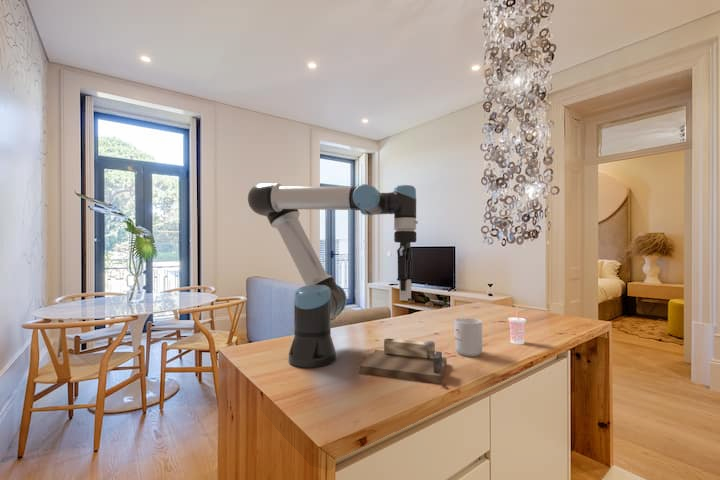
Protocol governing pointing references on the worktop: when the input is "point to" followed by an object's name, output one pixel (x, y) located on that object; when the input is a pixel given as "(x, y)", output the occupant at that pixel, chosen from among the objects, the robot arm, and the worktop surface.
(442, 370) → the wooden base board
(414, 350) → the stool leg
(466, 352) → the mug
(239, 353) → the worktop surface
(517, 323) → the beverage cup
